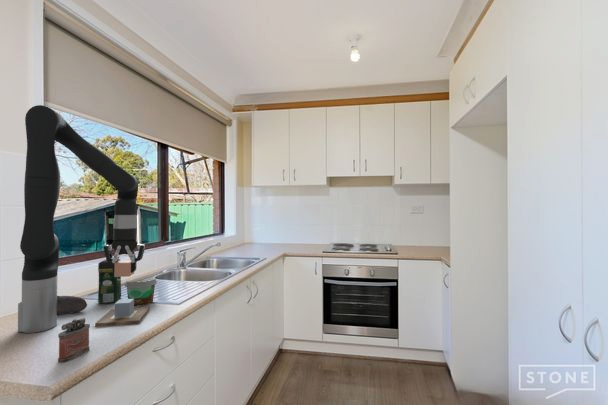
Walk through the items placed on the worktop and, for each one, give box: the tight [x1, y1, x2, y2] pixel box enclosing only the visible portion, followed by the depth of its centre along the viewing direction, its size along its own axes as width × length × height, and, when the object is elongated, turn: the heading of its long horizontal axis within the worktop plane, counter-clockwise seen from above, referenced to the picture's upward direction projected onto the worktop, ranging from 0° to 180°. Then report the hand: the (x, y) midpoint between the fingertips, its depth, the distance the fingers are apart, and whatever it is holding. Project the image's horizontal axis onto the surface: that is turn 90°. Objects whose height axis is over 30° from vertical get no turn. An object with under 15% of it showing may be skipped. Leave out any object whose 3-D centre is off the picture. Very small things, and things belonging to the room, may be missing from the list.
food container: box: [124, 278, 158, 307], centre depth 128 cm, size 12×6×10 cm, turn 105°
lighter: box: [57, 317, 91, 364], centre depth 86 cm, size 8×3×10 cm, turn 163°
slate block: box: [114, 298, 135, 317], centre depth 114 cm, size 5×5×5 cm
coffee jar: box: [97, 258, 122, 305], centre depth 133 cm, size 10×8×19 cm
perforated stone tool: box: [57, 295, 88, 315], centre depth 118 cm, size 15×5×7 cm, turn 104°
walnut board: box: [94, 306, 151, 328], centre depth 114 cm, size 14×14×1 cm
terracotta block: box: [114, 259, 135, 278], centre depth 113 cm, size 5×5×5 cm
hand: (124, 272), depth 113 cm, fingers closed on terracotta block, 5 cm apart
